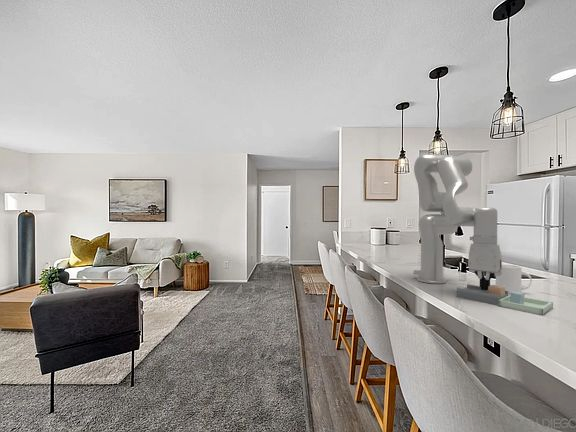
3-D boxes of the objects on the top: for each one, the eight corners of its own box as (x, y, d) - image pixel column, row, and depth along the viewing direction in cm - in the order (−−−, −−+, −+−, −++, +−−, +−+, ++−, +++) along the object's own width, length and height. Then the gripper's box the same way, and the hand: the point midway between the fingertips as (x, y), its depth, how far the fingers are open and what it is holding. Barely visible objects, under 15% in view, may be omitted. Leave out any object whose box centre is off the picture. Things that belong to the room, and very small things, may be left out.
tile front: (510, 292, 109) (520, 294, 107) (514, 290, 112) (524, 292, 109) (509, 303, 109) (519, 306, 107) (513, 301, 112) (523, 304, 110)
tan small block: (488, 294, 115) (488, 286, 115) (492, 292, 117) (492, 284, 117) (500, 296, 111) (500, 288, 111) (504, 295, 114) (505, 286, 114)
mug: (533, 296, 121) (534, 269, 121) (496, 292, 127) (497, 266, 127) (529, 291, 129) (529, 265, 129) (494, 288, 135) (494, 263, 135)
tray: (497, 306, 109) (497, 300, 109) (510, 300, 116) (510, 294, 116) (542, 315, 99) (542, 309, 99) (552, 308, 107) (552, 302, 107)
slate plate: (456, 296, 120) (456, 287, 120) (467, 292, 127) (467, 284, 127) (498, 305, 109) (498, 295, 109) (508, 300, 116) (508, 291, 116)
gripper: (459, 239, 121) (459, 287, 121) (504, 242, 109) (504, 295, 109) (468, 238, 125) (467, 284, 125) (512, 241, 114) (511, 292, 114)
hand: (484, 289), depth 117 cm, fingers closed
